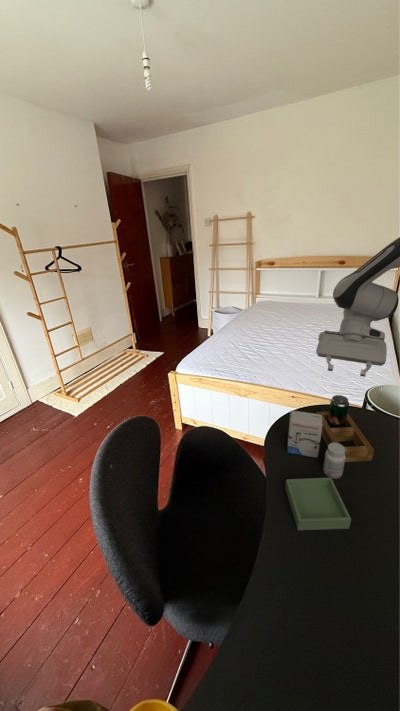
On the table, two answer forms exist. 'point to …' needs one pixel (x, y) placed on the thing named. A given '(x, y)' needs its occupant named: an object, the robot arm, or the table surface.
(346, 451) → the rack
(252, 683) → the table surface
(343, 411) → the soda can
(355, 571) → the table surface
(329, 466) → the pill bottle
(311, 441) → the ink box
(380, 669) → the table surface
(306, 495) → the tray
